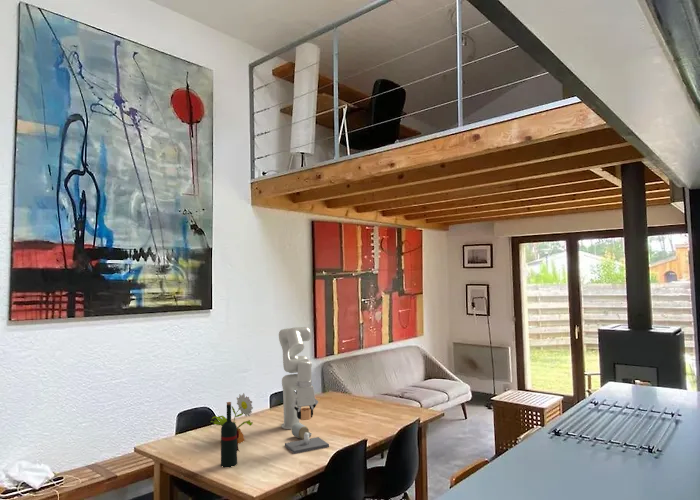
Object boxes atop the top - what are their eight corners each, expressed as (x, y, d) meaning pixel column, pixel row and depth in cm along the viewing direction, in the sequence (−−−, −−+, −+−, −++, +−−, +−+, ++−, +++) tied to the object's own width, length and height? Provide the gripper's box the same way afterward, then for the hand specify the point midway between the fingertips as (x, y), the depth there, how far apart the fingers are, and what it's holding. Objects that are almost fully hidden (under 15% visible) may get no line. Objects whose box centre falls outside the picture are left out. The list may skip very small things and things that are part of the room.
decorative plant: (262, 439, 274) (261, 394, 276) (230, 451, 254) (230, 403, 256) (229, 431, 289) (229, 389, 290) (196, 443, 269) (196, 397, 270)
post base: (284, 446, 261) (284, 432, 262) (318, 439, 271) (318, 426, 271) (294, 453, 249) (293, 439, 249) (329, 447, 258) (328, 432, 259)
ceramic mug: (299, 440, 270) (299, 426, 270) (291, 437, 276) (291, 423, 276) (314, 437, 276) (314, 423, 277) (306, 433, 283) (306, 420, 283)
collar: (297, 418, 262) (297, 408, 262) (308, 416, 265) (308, 407, 265) (301, 420, 256) (301, 411, 257) (312, 419, 259) (312, 409, 260)
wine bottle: (244, 462, 239) (243, 400, 241) (228, 468, 230) (228, 405, 232) (233, 459, 243) (233, 398, 245) (217, 465, 235) (217, 403, 237)
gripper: (292, 387, 255) (292, 421, 253) (321, 383, 262) (322, 417, 261) (287, 384, 261) (287, 418, 260) (316, 381, 269) (317, 413, 268)
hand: (305, 417), depth 261 cm, fingers closed on collar, 6 cm apart
